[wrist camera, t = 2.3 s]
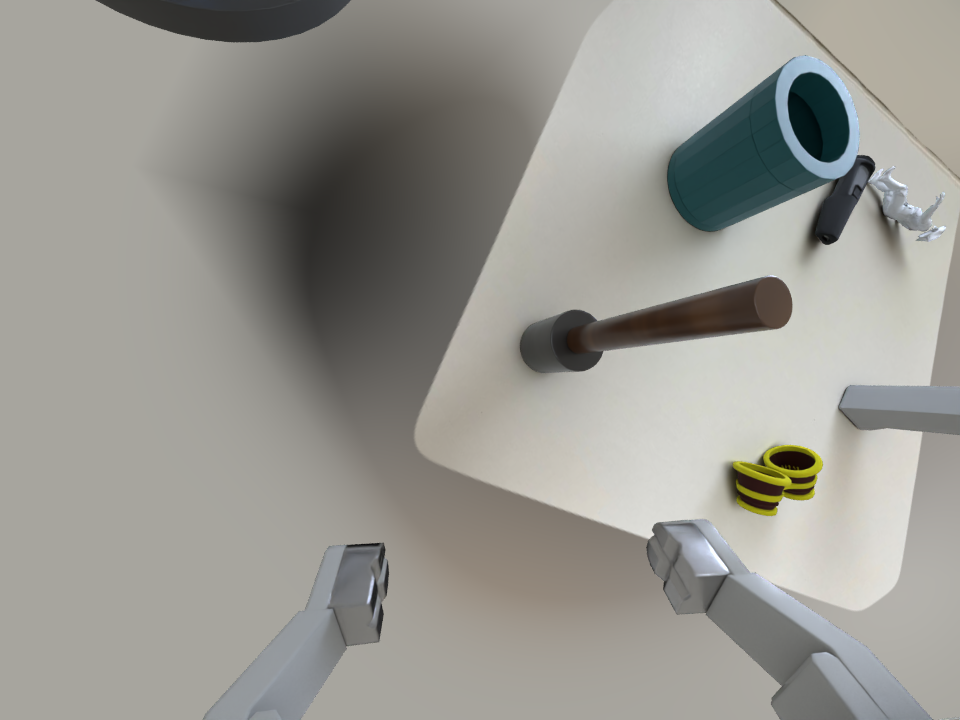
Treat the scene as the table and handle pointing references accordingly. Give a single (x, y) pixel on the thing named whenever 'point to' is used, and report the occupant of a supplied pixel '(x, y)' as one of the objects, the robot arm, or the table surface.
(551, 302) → the table surface
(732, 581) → the robot arm
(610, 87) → the table surface
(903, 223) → the soldier figure
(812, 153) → the cup
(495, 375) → the table surface
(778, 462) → the opera glasses
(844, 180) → the electric trimmer
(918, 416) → the vintage mobile phone
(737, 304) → the brush
